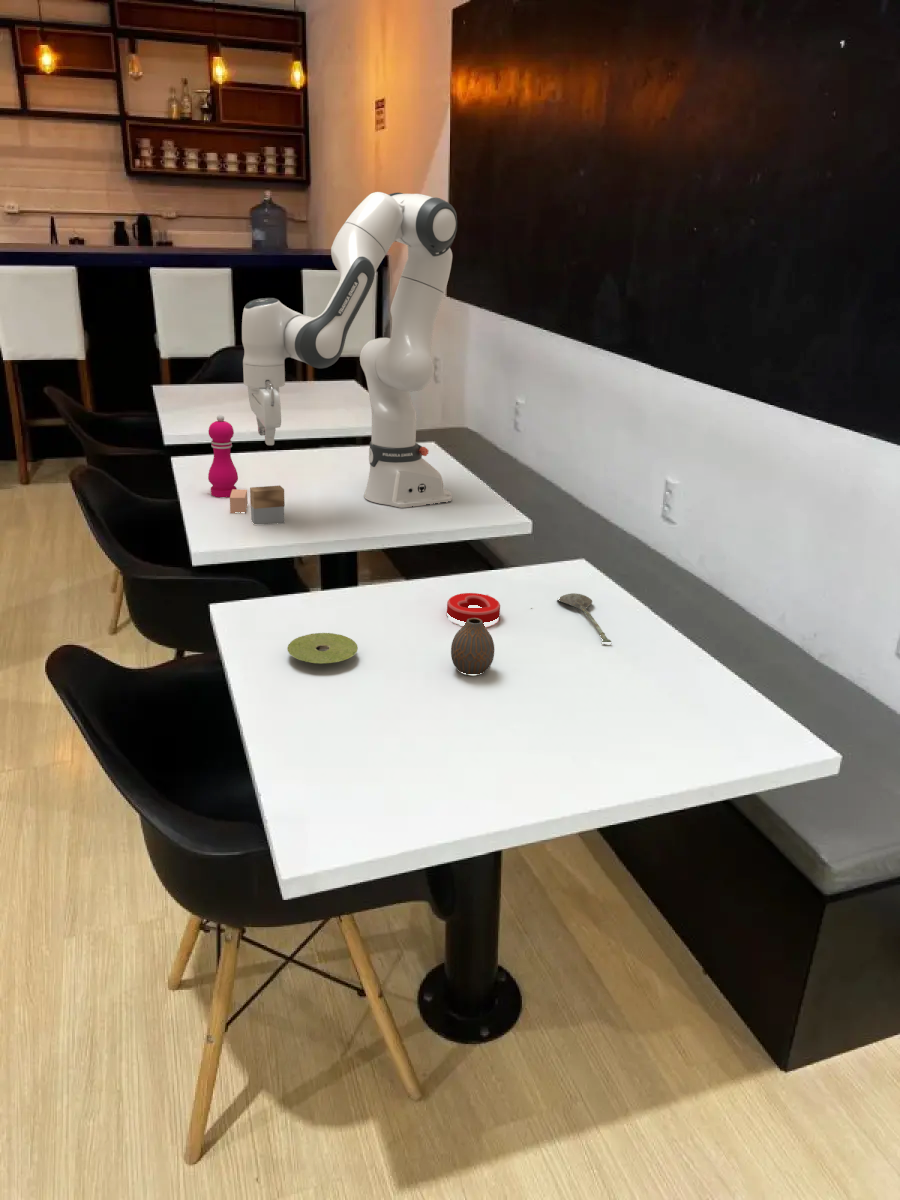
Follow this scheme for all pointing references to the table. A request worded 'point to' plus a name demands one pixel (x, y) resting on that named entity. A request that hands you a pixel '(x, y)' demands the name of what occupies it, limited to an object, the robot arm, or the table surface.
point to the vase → (472, 648)
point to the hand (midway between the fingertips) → (266, 439)
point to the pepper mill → (222, 459)
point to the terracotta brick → (238, 501)
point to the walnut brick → (267, 497)
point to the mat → (322, 648)
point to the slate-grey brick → (267, 515)
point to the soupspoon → (583, 608)
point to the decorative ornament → (460, 610)
